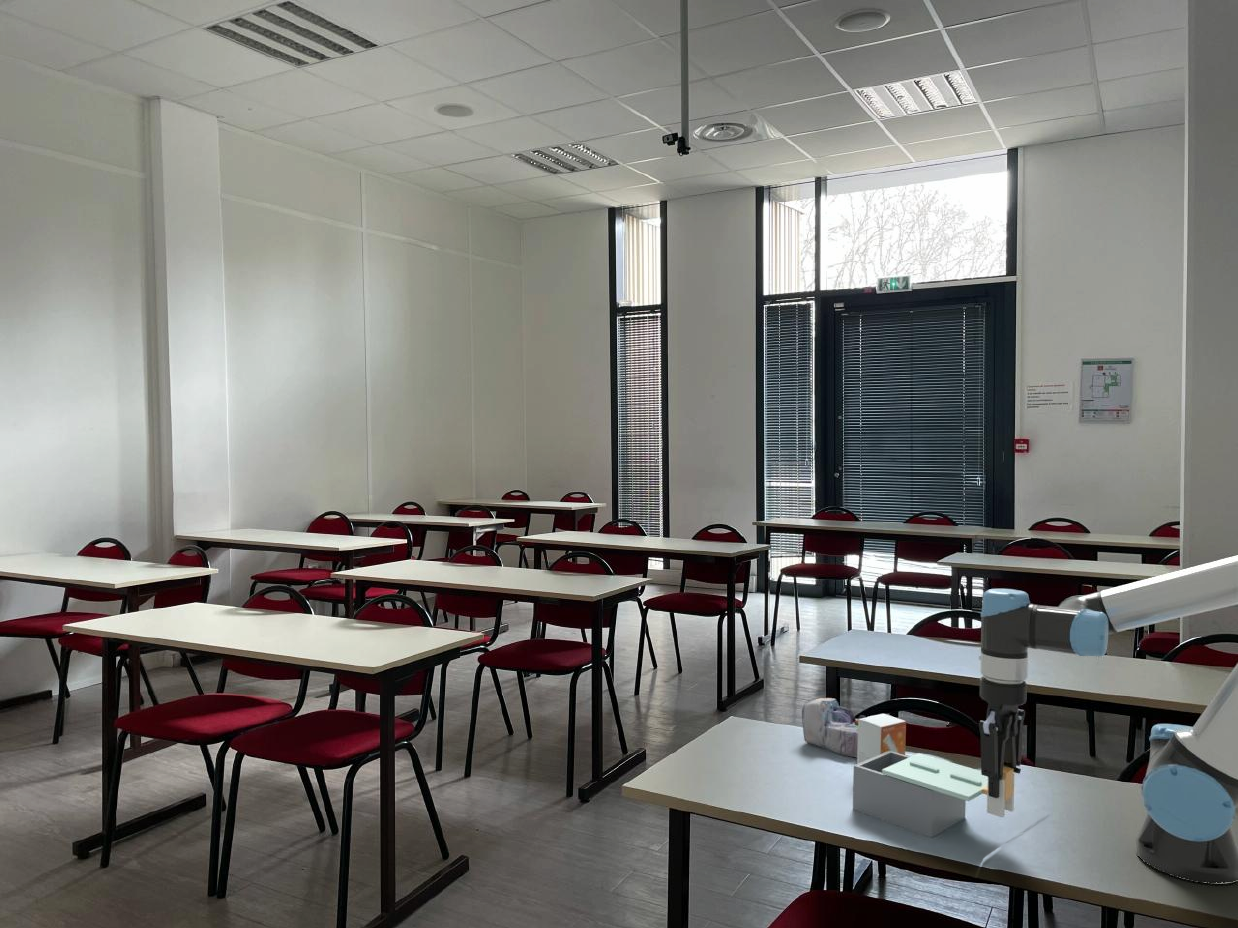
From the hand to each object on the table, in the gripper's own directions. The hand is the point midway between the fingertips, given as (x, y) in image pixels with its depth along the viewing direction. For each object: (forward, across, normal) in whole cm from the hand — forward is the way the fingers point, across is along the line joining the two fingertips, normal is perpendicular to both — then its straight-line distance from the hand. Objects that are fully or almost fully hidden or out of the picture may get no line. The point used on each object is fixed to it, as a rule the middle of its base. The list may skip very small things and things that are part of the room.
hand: (1000, 811), depth 151 cm
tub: (+7, 0, -17) cm, 18 cm away
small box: (+7, -12, -30) cm, 33 cm away
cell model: (+7, -24, -46) cm, 53 cm away
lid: (-3, 0, -9) cm, 9 cm away
